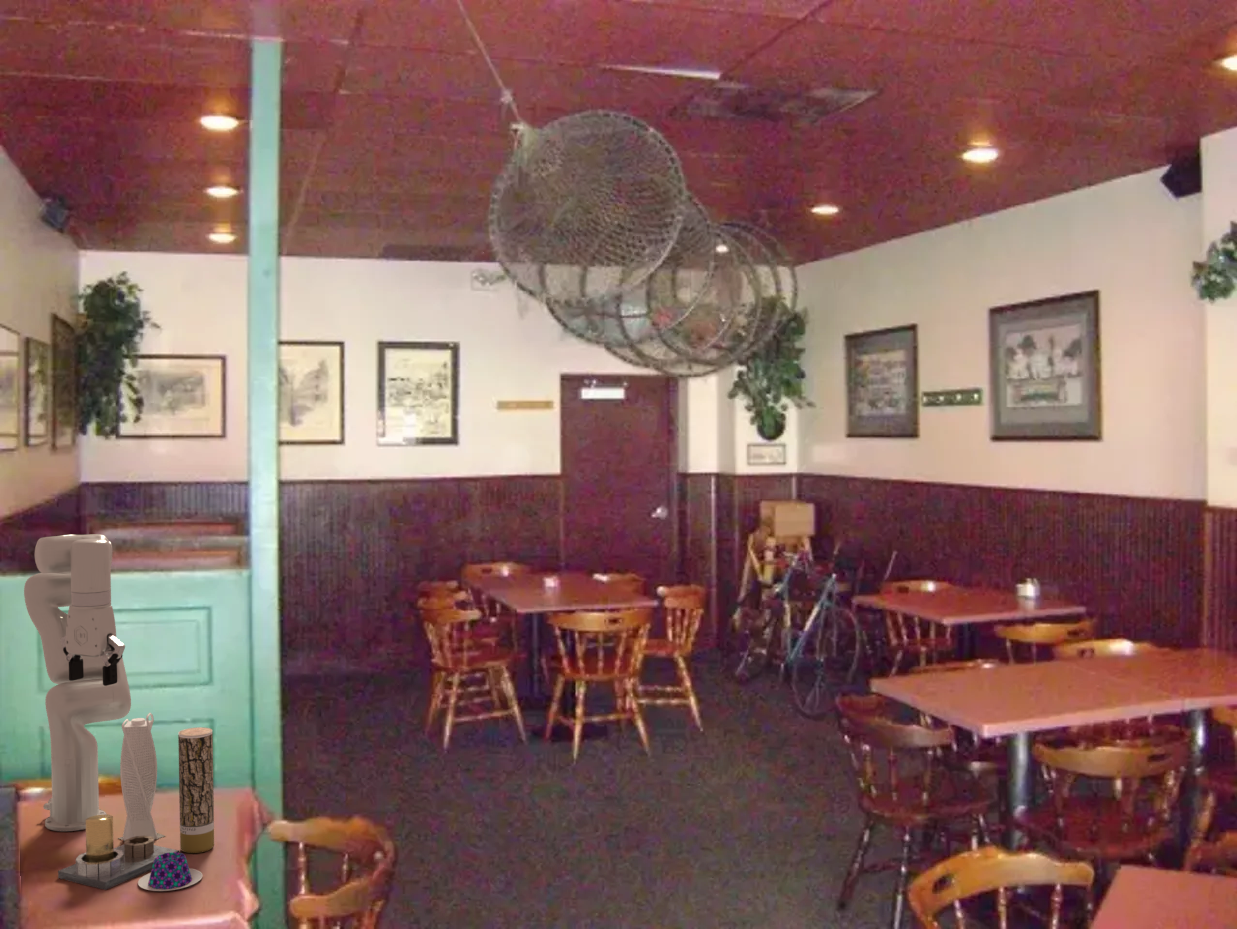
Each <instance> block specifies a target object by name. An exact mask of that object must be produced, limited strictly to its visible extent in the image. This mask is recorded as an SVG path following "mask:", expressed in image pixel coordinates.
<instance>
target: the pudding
mask: <svg viewBox="0 0 1237 929" xmlns="http://www.w3.org/2000/svg"><path fill="white" fill-rule="evenodd" d="M202 878H203V873H202V872H201V871H200V870H198V869H195V868H190V867H189V863H188V860H187V857H186V854H185V853H184V852H183V853H182V852H180V851H179V852H173V853H170V852H169V853H164V854H161V855H159V856H157V857H156V858H155V860H154V862H153V866H152V870H150V872H149V873H147V874H144V875H143V876H142V877H140V878H139V879H138V881H137V884H138V886H139V888H141V889H144V890H148V891H153V892H167V891H175V890H176V891H177V890H180V889H184V888H188V887H191V886H193V885H195V884H197V883H199V881H201V879H202Z"/></svg>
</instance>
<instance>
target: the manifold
mask: <svg viewBox="0 0 1237 929" xmlns="http://www.w3.org/2000/svg"><path fill="white" fill-rule="evenodd" d="M123 842H124V844H122V845H119V846H115V847H114V858H113V859H111V860H109V861H104V862H97V863H89V862H87V860H86V852H84V853H80V854H78V856H76V858H75V864H71V865H69V866H67V867H65V868H64V867H63V868H62V869H59V870H58V871H57V874H58V875H57V879H59V878H60V879H59V880H63V879H65V880H64V881H67V880H68V882H71V881H72V883H76V884H81V885H85V886H89V887H92V888H97V889H100V890H104V891H106V890H108V889H111V888H113V887H116V886H118V885H119V884H122V883H125V882H127V881H129V880H132V879H134V878H136V877H138V876H140V875H143V874H146V873H148V872H151V870H152V866H153V862H154V860H155V858H156V857H157V856H159V855H161V854H164V853H169V852H170V853H173V852H179V853H180V850H178V849H173V848H169V847H164V846H160V845H155V840H154V837H151V836H135V837H131V838H129V839H126V840H125V841H123Z"/></svg>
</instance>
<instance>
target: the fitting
mask: <svg viewBox="0 0 1237 929" xmlns="http://www.w3.org/2000/svg"><path fill="white" fill-rule="evenodd" d="M85 848H86V850H85V851H86V860H87V862H89V863H97V862H104V861H109V860H111V859H113V858H114V848H115V847H114V816H113V815H110V814H106V815H96V816H92V817H89V818H87V819H86V829H85Z"/></svg>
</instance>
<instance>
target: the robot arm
mask: <svg viewBox="0 0 1237 929" xmlns="http://www.w3.org/2000/svg"><path fill="white" fill-rule="evenodd" d="M113 552H114V551H113V544H112V541H110V540H109V539H108V537H106V535H104V534H100V533H95V534H93V533H92V534H71V533H70V534H63V535H57V536H56V535H55V536H44V537H40V538H39V539H38V540H37V541H36V545H35V548H34V561H35V564H36V565H35V566H36V568H37V570H38V571H39V572H38V573H36V574H35V573H34V574H33V575H32V576H29V577H28V578H27V580H26V581H25V583H24V588H23V597H24V602H25V607H26V610H27V613H28V616H29V618H30V620H31V622H32V623H33V625H34V627H35V628H36V630H37V632H38V634H39V636H40V639H41V645H42V651H43V656H44V657H43V658H44V662H45V667H46V673H47V675H48V678H49V680H50V681H51V682H52V683H54V684H56V685H54V686H52V687H51V688H50V689H48V691H47V693H46V695H45V703H44V704H45V710H46V716H47V721H48V728H49V736H50V759H51V760H50V766H51V795H52V796H51V798H49V799H48V801H47V802H46V803H44V804H43V810H47V811H49V816H48V817H47V818H46V819H45V820H44V826H45V828H46V829H48V830H50V831H54V832H73V831H74V832H76V831H82V830H86V819H87V818H89V817H92V816H96V815H107V812H106V811H104V810H103V809H100V802H99V798H100V797H99V796H100V792H99V754H98V753H99V751H98V742H97V739H96V737H95V736H94V734H92V733H91V732H90V731H89V730H88V729H87V728H86V727H85V726H86V725H89V724H93V723H101V722H108V721H109V722H110V721H115V720H116V721H117V720H120V719H123V718H125V717H127V716H128V715H129V713H130V711H131V708H132V707H131V706H132V699H131V690H130V685H129V681H128V676H127V671H126V666H125V662H124V659H123V656H124V655H123V654H124V652H125V648H126V645H125V643H123V642H122V641H120V639H118V638H117V628H116V626H117V625H116V620H115V614H114V609H113V608H114V607H113V606H112V579H111V578H112V576H111V575H112V574H111V569H112V565H113V564H112V563H113ZM64 607H68V611H67V613H66V612H65V611H62V610H61V609H60V608H64Z"/></svg>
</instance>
